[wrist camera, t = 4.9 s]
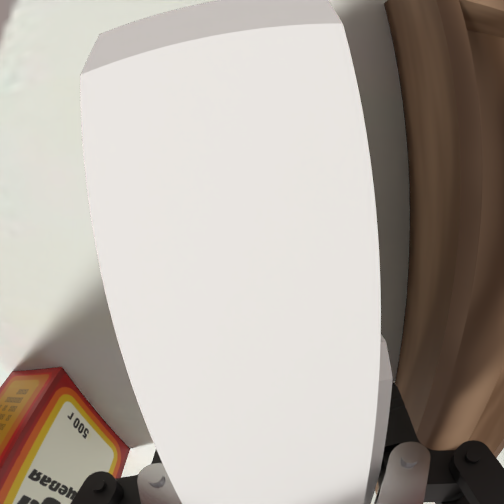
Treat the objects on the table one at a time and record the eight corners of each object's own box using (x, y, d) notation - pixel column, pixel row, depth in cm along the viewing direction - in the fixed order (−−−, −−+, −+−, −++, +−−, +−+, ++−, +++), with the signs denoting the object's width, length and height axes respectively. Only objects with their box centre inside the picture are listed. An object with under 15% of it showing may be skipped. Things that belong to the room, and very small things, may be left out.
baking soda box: (129, 448, 22) (83, 612, 7) (76, 445, 23) (23, 581, 8) (61, 367, 18) (-39, 557, 3) (12, 371, 19) (-78, 516, 4)
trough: (532, 35, 9) (583, 29, 5) (464, 449, 22) (478, 480, 18) (384, 3, 10) (426, -31, 6) (372, 477, 23) (380, 514, 19)
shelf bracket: (261, 497, 20) (249, 632, 8) (201, 145, 16) (24, 50, 3) (332, 491, 19) (347, 625, 7) (311, 130, 15) (404, -25, 3)
